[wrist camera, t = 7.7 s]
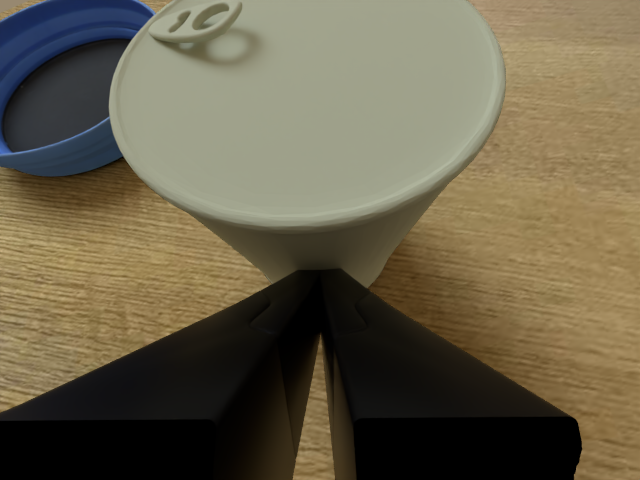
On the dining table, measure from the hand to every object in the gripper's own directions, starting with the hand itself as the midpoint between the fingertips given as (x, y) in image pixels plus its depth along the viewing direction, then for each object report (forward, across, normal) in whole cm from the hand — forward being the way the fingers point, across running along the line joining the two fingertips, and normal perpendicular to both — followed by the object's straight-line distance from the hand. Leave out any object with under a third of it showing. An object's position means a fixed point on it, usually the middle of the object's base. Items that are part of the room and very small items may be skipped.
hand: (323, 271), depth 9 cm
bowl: (+17, -22, +7) cm, 29 cm away
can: (+7, 0, -2) cm, 8 cm away
